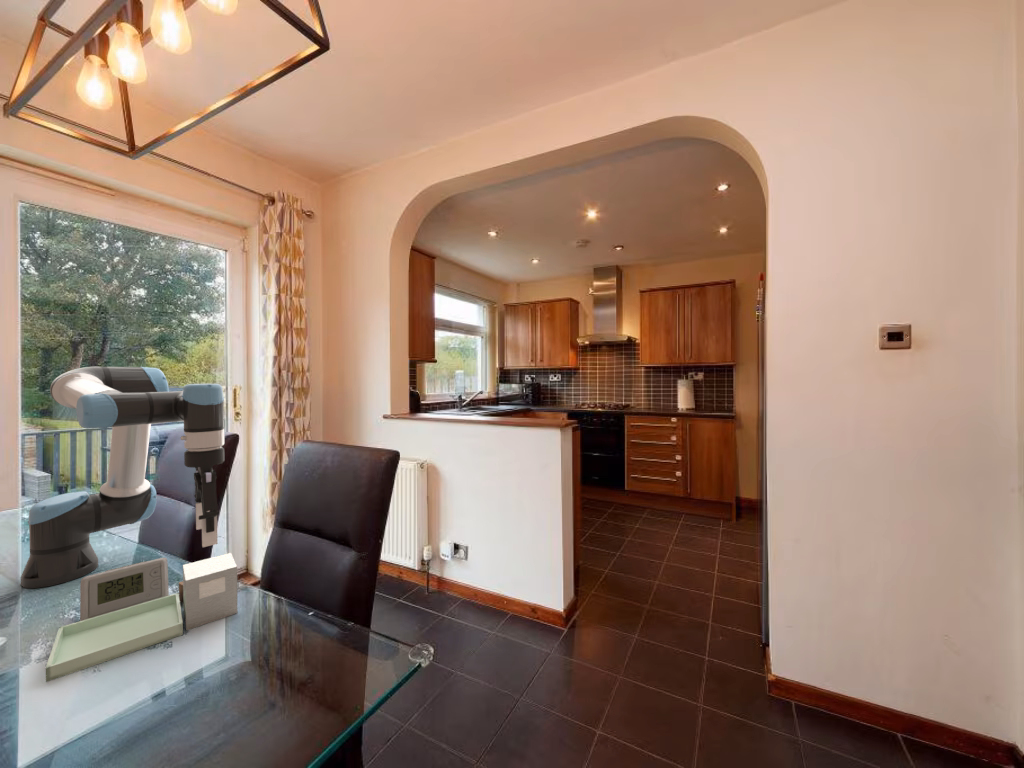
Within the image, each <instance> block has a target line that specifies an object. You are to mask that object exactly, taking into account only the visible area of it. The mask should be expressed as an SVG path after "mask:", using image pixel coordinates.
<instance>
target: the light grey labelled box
mask: <svg viewBox="0 0 1024 768" xmlns="http://www.w3.org/2000/svg"><path fill="white" fill-rule="evenodd" d="M182 581H183V603H182V605H183V607H182V608H183V617H184V623H185V624H184V625H185V629H186V630H185V631H189V630H192V629H194V628H198V627H200V626H204V625H206V624H210V623H213V622H216V621H219V620H221V619H224V618H227V617H230V616H233V615H236V614H238V612H239V611H238V608H239V607H238V565H237V564H236V561H235V559H234V556H233V554H232V552H228V553H225V554H221V555H217V556H213V557H208V558H204V559H200V560H197V561H194V562H190V563H185V564H183V565H182ZM235 613H236V614H235Z"/></svg>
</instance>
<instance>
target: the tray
mask: <svg viewBox="0 0 1024 768" xmlns="http://www.w3.org/2000/svg"><path fill="white" fill-rule="evenodd" d="M182 614H183V613H182V609H181V602H180V600H179V592H177V593H172V594H169V596H166V597H162V598H159V599H155V600H152V601H148V602H145V603H141V604H138V605H134V606H131V607H128V608H124V609H121V610H117V611H114V612H110V613H107V614H103V615H100V616H96V617H93V618H89V619H86V620H83V621H77V622H73V623H69V624H66V625H61V626H60V627H58V631H57V633H56V637H55V640H54V642H53V645H52V648H51V651H50V654H49V657H48V659H47V662H46V666H45V668H44V669H45V682H46V683H47V682H49V681H53V680H56V679H59V678H62V677H65V676H68V675H71V674H73V673H76V672H79V671H82V670H84V669H88V668H91V667H94V666H96V665H100V664H102V663H105V662H108V661H110V660H111V661H112V660H113V659H116V658H120V657H123V656H125V655H128V654H131V653H134V652H136V651H139V650H143V649H145V648H148V647H152V646H154V645H157V644H160V643H162V642H166V641H168V640H171V639H174V638H177V637H180V636H183V635H184V633H183V632H184V629H183V626H184V625H183V615H182Z"/></svg>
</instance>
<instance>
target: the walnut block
mask: <svg viewBox="0 0 1024 768" xmlns="http://www.w3.org/2000/svg"><path fill="white" fill-rule="evenodd" d="M178 593H179V600H180V604H183V580H182V581H180V582H178Z"/></svg>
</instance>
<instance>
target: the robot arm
mask: <svg viewBox="0 0 1024 768" xmlns="http://www.w3.org/2000/svg"><path fill="white" fill-rule="evenodd" d="M223 389H224V388H223V386H222V385H221V384H219V383H188V384H185V385H184V386H183V388H182V390H175V391H170V388H169V383H168V380H167V378H166V375H165V374H164V372H163V371H162V370H161V369H160V368H158V367H146V366H95V365H94V366H85V367H80V368H79V367H78V368H75V369H71V370H69V371H66V372H63V373H62V374H59V376H57V377H55V379H53V381H52V382H51V383H50V387H49V391H50V393H49V394H50V396H51V397H52V399H53V400H54V401H55V402H56V403H58V404H59V405H61V406H63V407H65V408H68V409H75V411H76V419H77V422H78V424H79V426H80V427H81V428H84V429H108V428H112V430H111V440H110V450H109V461H108V470H107V471H108V473H107V481H106V482H105V483H102V485H101V486H100V487H99V493H96V494H95V493H94V494H90V493H89V492H87V491H83V490H82V491H81V490H80V491H74V492H73V491H72V492H69V493H68V492H66V493H62V494H59V495H55V496H51V497H48V498H46V499H43V500H41V501H39V502H37V503H35V504H33V505H32V506H31V507H30V509H29V513H28V520H27V524H28V525H29V527H28V530H29V531H28V533H29V558H27V559H28V560H27V562H26V564H25V566H24V569H23V571H22V573H21V575H20V586H21V585H22V586H23V587H22V586H21V587H22V588H26V589H37V588H38V589H40V588H46V587H50V586H56V585H59V584H64V583H67V582H71V581H73V580H77V579H79V578H83V576H84V577H85V576H87V575H88V574H90V573H92V572H94V571H95V570H96V569H98V567H99V557H98V555H97V553H96V551H95V549H94V548H93V546H92V544H91V543H90V542H91V541H90V534H93V533H98V532H101V531H105V530H110V529H113V528H114V529H115V528H117V527H122V526H126V525H133V524H136V523H138V522H139V523H140V522H143V521H146V520H147V519H149V518H150V517H151V516H152V515H153V513H154V512H155V510H156V506H157V490H156V488H155V486H154V485H153V484H151V483H150V481H149V480H148V479H145V478H146V470H147V463H148V456H149V455H148V454H149V453H148V452H149V445H150V444H149V443H150V436H151V435H150V434H151V426H152V424H165V423H176V422H177V423H178V422H183V432H184V433H183V434H184V435H182V436H181V437H180V440H181V441H184V442H183V443H184V446H183V447H184V449H186V450H184V453H183V454H184V456H183V457H184V466H185V467H187V468H195V472H193V479H194V486H195V488H194V489H195V491H194V498H195V499H194V501H195V529H196V531H197V530H198V531H199V530H201V547H202V548H206V547H210V546H214V545H217V544H218V516H219V510H218V507H219V506H218V497H217V478H218V477H217V471H216V470H215V469H213V467H214V466H216V465H217V466H218V465H220V464H223V463H224V462H225V448H224V447H223V446H224V445H225V424H224V421H225V420H224V419H225V418H224V415H225V414H224V413H225V411H224V408H225V407H224V401H225V396H224V390H223Z"/></svg>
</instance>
